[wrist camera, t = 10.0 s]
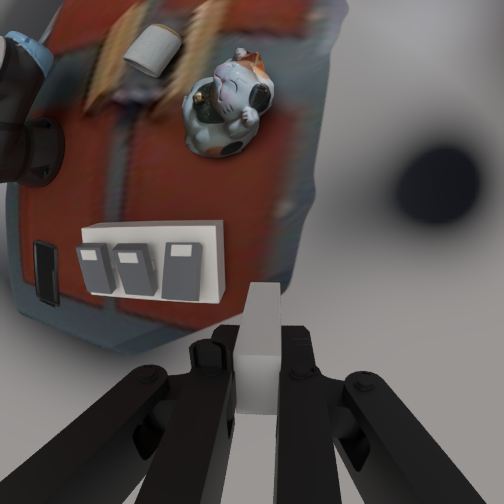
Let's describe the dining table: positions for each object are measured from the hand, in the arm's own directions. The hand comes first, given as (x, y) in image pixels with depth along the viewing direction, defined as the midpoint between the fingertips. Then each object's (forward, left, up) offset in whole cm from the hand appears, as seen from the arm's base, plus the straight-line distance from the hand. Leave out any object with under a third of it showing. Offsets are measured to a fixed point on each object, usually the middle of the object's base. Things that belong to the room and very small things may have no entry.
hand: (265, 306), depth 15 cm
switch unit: (-20, -6, -32) cm, 39 cm away
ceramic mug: (-20, +31, -33) cm, 49 cm away
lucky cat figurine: (-7, +18, -33) cm, 38 cm away
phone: (-50, -11, -33) cm, 61 cm away
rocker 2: (-20, -6, -23) cm, 31 cm away
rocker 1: (-27, -6, -24) cm, 37 cm away
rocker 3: (-13, -6, -23) cm, 27 cm away
